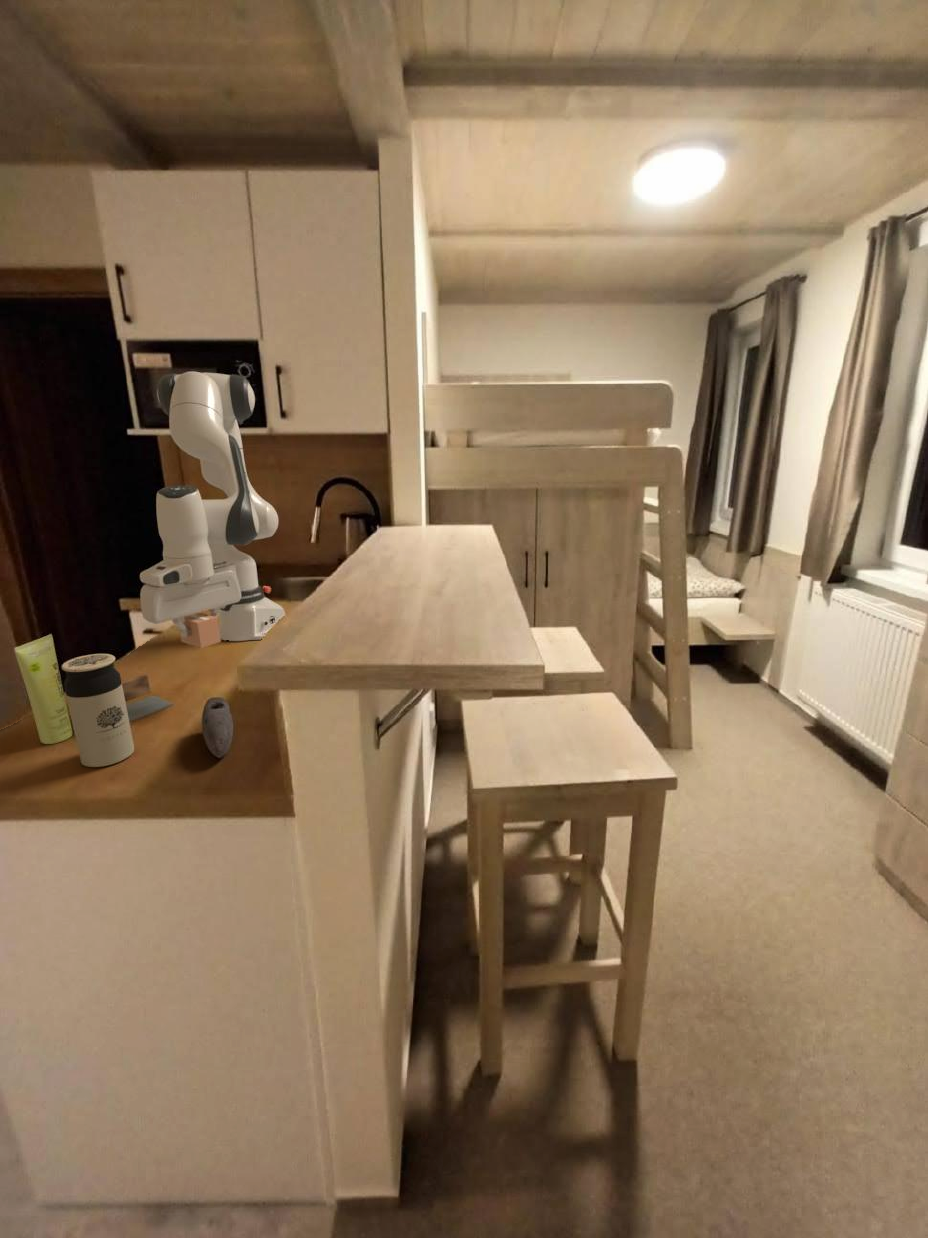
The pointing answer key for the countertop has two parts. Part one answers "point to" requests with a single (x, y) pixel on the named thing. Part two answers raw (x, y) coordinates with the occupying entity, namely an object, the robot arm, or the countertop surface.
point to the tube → (45, 689)
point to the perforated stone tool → (217, 726)
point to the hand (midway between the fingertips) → (199, 632)
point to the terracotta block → (201, 630)
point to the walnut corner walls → (136, 687)
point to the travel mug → (98, 710)
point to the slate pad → (146, 707)
